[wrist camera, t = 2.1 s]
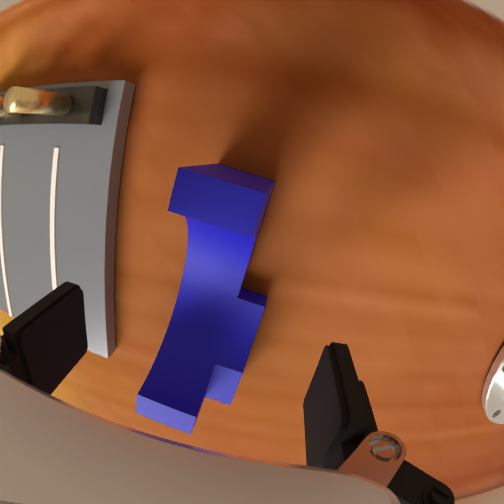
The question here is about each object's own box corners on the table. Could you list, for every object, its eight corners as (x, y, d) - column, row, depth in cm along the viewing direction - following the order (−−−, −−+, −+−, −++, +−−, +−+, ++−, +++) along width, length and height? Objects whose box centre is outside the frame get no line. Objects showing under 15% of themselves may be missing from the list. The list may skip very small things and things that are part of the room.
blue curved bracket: (238, 373, 19) (219, 443, 13) (172, 350, 19) (135, 412, 14) (304, 190, 15) (311, 209, 10) (219, 163, 16) (178, 167, 10)
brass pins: (107, 89, 14) (43, 72, 9) (101, 125, 14) (34, 120, 9) (-13, 100, 14) (-65, 100, 9) (-16, 126, 15) (-69, 130, 10)
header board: (135, 84, 14) (124, 79, 13) (116, 350, 20) (107, 360, 18) (-7, 96, 15) (-18, 95, 14) (-7, 295, 21) (-16, 301, 19)
